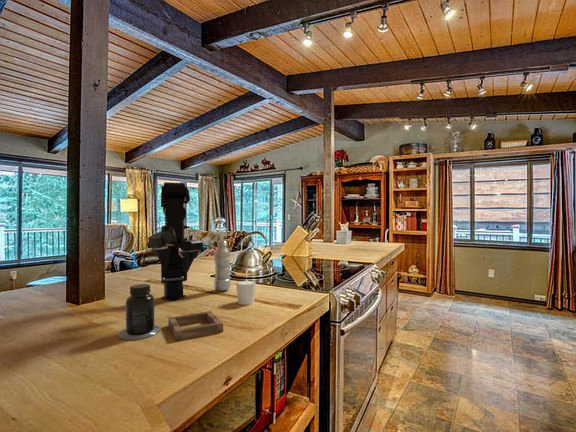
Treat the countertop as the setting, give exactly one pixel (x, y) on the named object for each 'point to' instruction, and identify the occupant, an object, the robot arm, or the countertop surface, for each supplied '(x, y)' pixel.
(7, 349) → the countertop surface
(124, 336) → the slate coaster
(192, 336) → the brown flat square frame
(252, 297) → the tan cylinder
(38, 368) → the countertop surface
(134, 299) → the supplement bottle
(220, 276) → the plastic bottle
